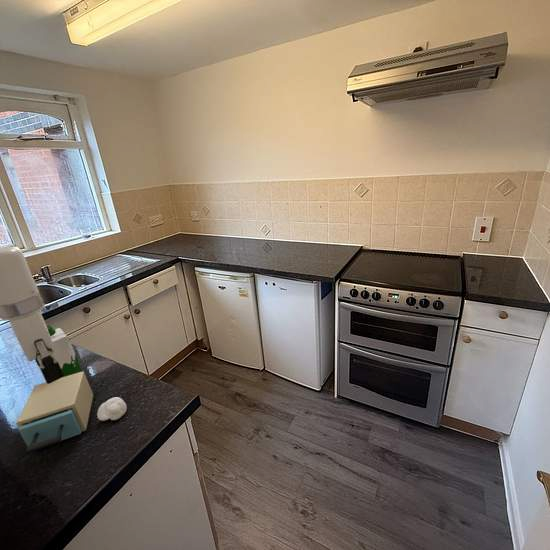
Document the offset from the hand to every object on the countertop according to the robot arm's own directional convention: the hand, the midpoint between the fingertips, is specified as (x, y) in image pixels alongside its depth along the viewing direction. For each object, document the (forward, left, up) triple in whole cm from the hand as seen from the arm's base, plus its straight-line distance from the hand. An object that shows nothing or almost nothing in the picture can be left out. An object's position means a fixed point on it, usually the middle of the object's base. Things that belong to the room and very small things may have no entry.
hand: (50, 371), depth 69 cm
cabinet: (-3, +5, -18) cm, 19 cm away
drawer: (-3, 0, -17) cm, 17 cm away
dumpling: (+9, 0, -18) cm, 20 cm away
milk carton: (-5, +19, -18) cm, 26 cm away
